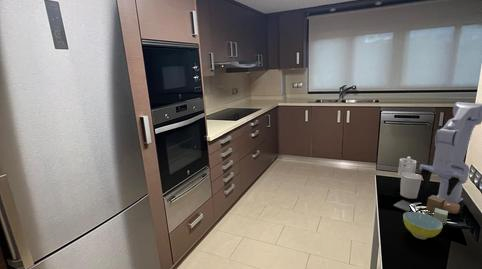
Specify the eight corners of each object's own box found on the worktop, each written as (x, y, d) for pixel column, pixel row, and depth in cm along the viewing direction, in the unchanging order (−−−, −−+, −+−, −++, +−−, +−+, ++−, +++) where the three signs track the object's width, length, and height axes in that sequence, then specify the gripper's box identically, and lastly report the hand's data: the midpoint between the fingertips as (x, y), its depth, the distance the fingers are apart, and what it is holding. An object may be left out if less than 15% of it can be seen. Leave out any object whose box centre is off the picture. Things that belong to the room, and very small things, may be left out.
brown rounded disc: (443, 205, 113) (445, 199, 112) (461, 211, 108) (462, 204, 107) (438, 209, 110) (439, 202, 109) (455, 215, 105) (456, 208, 104)
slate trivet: (402, 200, 117) (402, 199, 117) (422, 208, 110) (422, 207, 110) (393, 205, 112) (393, 204, 112) (413, 213, 106) (413, 212, 106)
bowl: (434, 230, 95) (437, 215, 93) (443, 249, 84) (447, 232, 83) (399, 223, 99) (401, 208, 98) (403, 240, 89) (405, 224, 88)
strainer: (413, 185, 132) (417, 157, 129) (411, 190, 127) (416, 161, 123) (397, 182, 136) (401, 155, 133) (395, 186, 131) (399, 158, 128)
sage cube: (433, 216, 104) (435, 207, 103) (446, 220, 101) (448, 211, 100) (432, 221, 101) (434, 211, 100) (445, 224, 98) (447, 215, 97)
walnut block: (430, 208, 111) (432, 195, 109) (442, 212, 107) (445, 199, 106) (425, 211, 108) (427, 197, 107) (438, 215, 105) (440, 202, 103)
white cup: (400, 197, 120) (403, 177, 117) (397, 190, 127) (400, 171, 125) (420, 200, 117) (423, 180, 115) (416, 193, 124) (419, 173, 122)
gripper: (417, 156, 106) (413, 187, 109) (462, 166, 94) (455, 200, 97) (425, 153, 110) (420, 183, 113) (469, 162, 98) (462, 195, 101)
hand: (437, 191), depth 105 cm, fingers open, 7 cm apart
